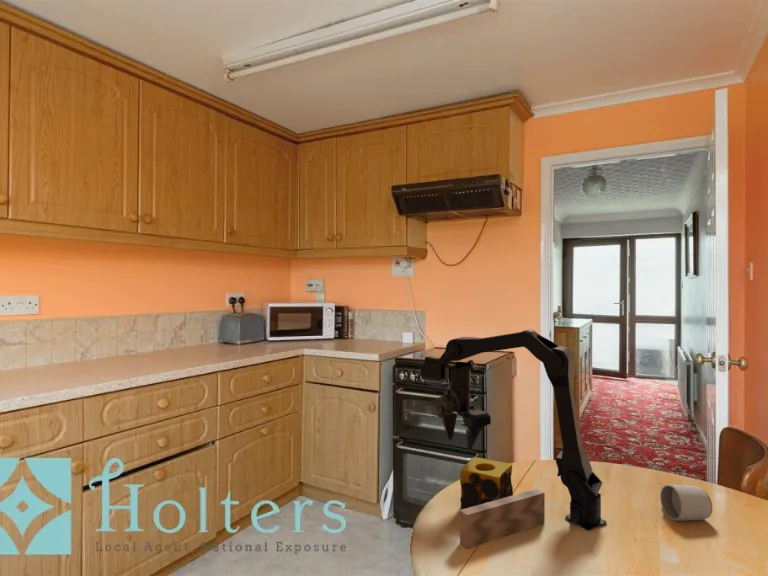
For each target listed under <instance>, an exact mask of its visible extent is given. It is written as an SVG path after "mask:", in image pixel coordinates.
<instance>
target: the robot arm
mask: <svg viewBox="0 0 768 576" xmlns="http://www.w3.org/2000/svg"><path fill="white" fill-rule="evenodd" d="M517 348H525V349H527V350H528V351H529V353H531V354H532V355H533V356H534V357H535V358H536V359H537V360H539V361H540V362H541V363H542V364H543V366H544V370H545V373H546V377H547V378H548V380H549V382H550V384H551V385H552V389H553V392H554V393H553V394H554V399H555V406H556V412H557V419H558V426H559V431H560V432H559V433H560V438H561V439H560V440H561V445H562V450H560V452H559V453H558V454H557V456H556V457H555V464H556V466H557V475H556V476H557V477H560V480H561V483H562V484H563V486H564V487H566V488H567V490H568V494H569V496H570V502H569V514H567V515H565V516H564V518H565V520H568V521H570V522H571V523H573V524H575V525H577V526H579V527H580V528H583V529H584V530H586V531H591V530H594V529H596V528H599V527H602V526H605V525H607V520H605V519H603V518H602V516H601V515H602V514H601V513H602V503H601V502H602V498H601V497H602V496H601V495H602V494H601V493H599V492H600V490H601V487H602V486H603V485H602V484H603V481H602V480H601V479H600V478H599V477H598V475H596V473H595V472H594V471H593V468H592V464H591V462H590V459H589V456H588V454H587V452H586V450H585V448H584V446H583V444H582V438H581V431H580V426H579V418H578V413H577V406H576V399H575V393H574V386H573V385H574V384H573V383H574V382H573V381H574V375H575V355H574V354H575V353H574V352H573V351H572V350H571V349H569V347H566V346H563V345H562V346H561V345H558V344H557V343H555V342H553V341H552V340H550V339H548V338H546V337H545V336H543V335H541V334H539V332H537V331H535V330H533V329H526V330H523V331H518V332H512V333H511V332H510V333H506V334H498V335H493V336H488V337H487V336H485V337H474V336H461V337H455V338H453V339H452V338H451V339H449V340H448V341H447V344H446V345H445V350H444V352H443V353H442V355H441V356H440V357H434V356H431V355H428V356H425V357H424V362H423V363H422V366H421V369H420V377H421V379H422V381H425V382H430V383H439V384H445V383H446V382H447V381H448V387H446V388H445V389H444V394H443V395H441V396H438V397H437V398H435V399H433V400H432V401H430V402H429V403H428V405H429V408H430V410H431V411H430V412H431V414H432V416H435V417H438V419H440V420H441V421H442V425H443V426H444V427H443V428H444V431H445V434H446V437H447V440H448V441H450V440H452V439H453V436H454V433H455V428H456V422H457V418H458V416H461V417H462V422H463V423H461V426H462V428H464V429H465V438H466V448H467V450H471V449H472V448H473V447H474V446H475V443H476V440H477V438H478V437H479V434H480V433H481V432H482V430H483V428H484V427H486V426H489V425H491V424H492V415H490V414H489V412H486V411H483V410H481V409H476V410H474V408H475V405H474V404H472V403H471V396H472V395H473V394H474V393H475V389H473V388H472V387H471V386H472V385H471V382H472V381H471V377H472V375H471V371H475V370H478V369H479V365H477V364H476V363H475V362H474V360H473V359H469V360H468V361H462V360H466V359H468V358H470V357H474V356H477V355H479V354H482V353H483V354H484V353H489V352H495V351H496V352H498V351H503V350H510V349H517ZM453 362H455V363H454V364H453ZM474 395H475V394H474ZM470 410H471V411H470Z"/></svg>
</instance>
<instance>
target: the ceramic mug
mask: <svg viewBox="0 0 768 576" xmlns="http://www.w3.org/2000/svg"><path fill="white" fill-rule="evenodd" d="M659 496H660V505H661V508H662V509H663V511H664V512H663V513H664V514H665V515H666V516H667V517H668V518H669V519H670V520H672V521H674V522H675V521H676V522H679V521H683V522H684V521H703V520H706V519H709V518H710V517H711V515H712V513H713V502H712V499H711V497H710V495H709V493H708V492H707V490H706V491H705V489H704V488H702V487H699V486H695V485H683V484H671V483H670V484H665V485H664V486H663V487H662V488H661V491H660V494H659Z"/></svg>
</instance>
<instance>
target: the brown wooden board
mask: <svg viewBox="0 0 768 576" xmlns="http://www.w3.org/2000/svg"><path fill="white" fill-rule="evenodd" d="M545 495H546V494H545V492H544V491H542V490H540V489H538V488H534V489H531V490H527V491H524V492H521V493H517V494H513V496H509V497H505V498H502V499H498V500H495V501H491V502H487V503H484V504H480V505H477V506H473V507H469V508H466V509H460V510H459V544H460V545H461V546H462V547H464V548H465V549H466V550H468V549H471V548H473V547H477V546H481V545H484V544H486V543H489V542H493V541H495V540H499V539H501V538H504V537H508V536H511V535H514V534H517V533H520V532H523V531H526V530H529V529H532V528H535V527H538V526H542V525H544V524H545V516H546V513H545V510H546V509H545V505H546V504H545V497H546V496H545Z"/></svg>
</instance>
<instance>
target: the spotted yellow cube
mask: <svg viewBox="0 0 768 576" xmlns="http://www.w3.org/2000/svg"><path fill="white" fill-rule="evenodd" d="M512 475H513V464H512V463H509V462H503V461H498V460H493V459H489V458H482V457H477V456H474V457H472V459H470V460H469V461H468V462H467V463H466V464H464V465H463V466H462V467H461V468H460V471H459V483H460V494H461V495H460V510H462V509H466V508H469V507H473V506H477V505H480V504H484V503H487V502H491V501H495V500H498V499H502V498H505V497H509V496H513V495H514V489H513V483H512Z"/></svg>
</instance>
